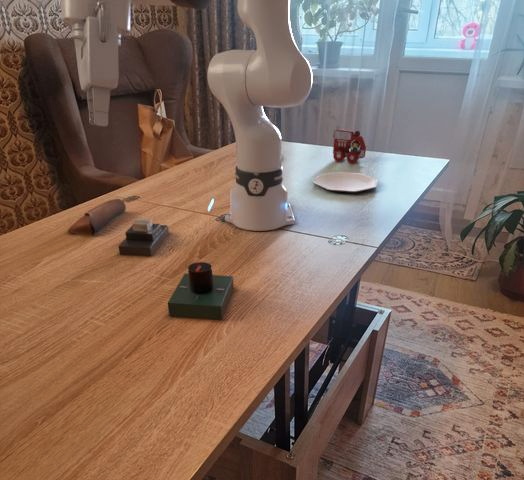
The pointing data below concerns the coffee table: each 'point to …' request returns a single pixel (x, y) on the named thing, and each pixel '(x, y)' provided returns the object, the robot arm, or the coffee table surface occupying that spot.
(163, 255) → the coffee table surface
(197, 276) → the volume dial
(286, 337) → the coffee table surface
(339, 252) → the coffee table surface
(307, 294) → the coffee table surface
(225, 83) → the robot arm
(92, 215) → the sunglasses case
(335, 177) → the plate
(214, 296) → the volume panel
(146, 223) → the key
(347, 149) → the toy fire truck
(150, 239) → the key block
